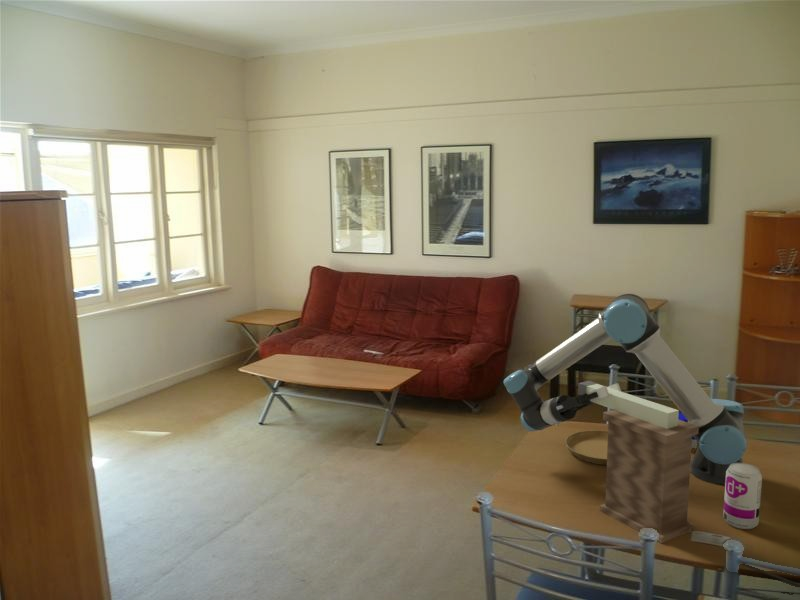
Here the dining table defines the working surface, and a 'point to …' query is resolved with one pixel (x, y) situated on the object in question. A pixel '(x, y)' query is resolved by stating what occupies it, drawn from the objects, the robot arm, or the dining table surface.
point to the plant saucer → (589, 445)
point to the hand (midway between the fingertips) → (612, 389)
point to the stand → (648, 474)
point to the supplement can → (742, 495)
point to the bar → (633, 406)
